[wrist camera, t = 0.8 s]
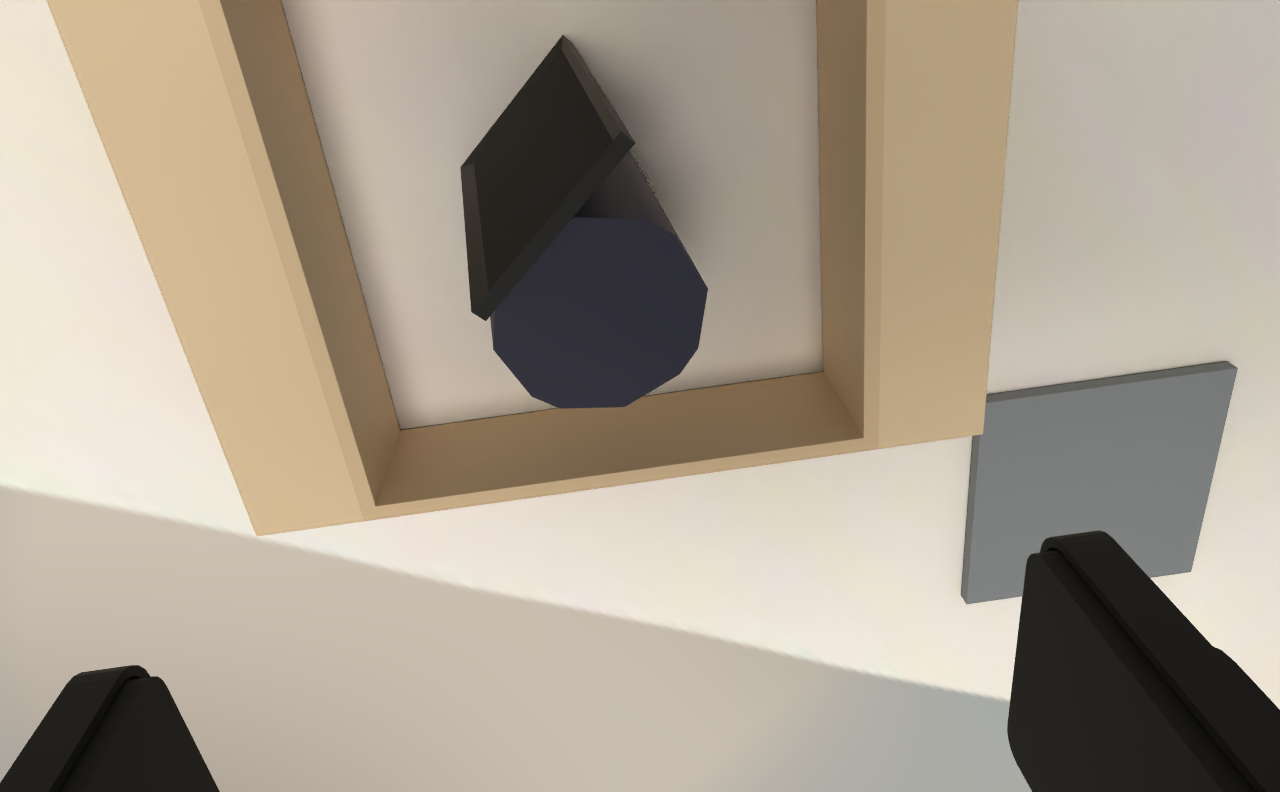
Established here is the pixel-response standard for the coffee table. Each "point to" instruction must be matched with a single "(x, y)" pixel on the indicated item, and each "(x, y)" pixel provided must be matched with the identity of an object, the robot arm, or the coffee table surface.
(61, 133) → the coffee table surface
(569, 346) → the speaker
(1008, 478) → the mat
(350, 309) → the carton
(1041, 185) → the coffee table surface
